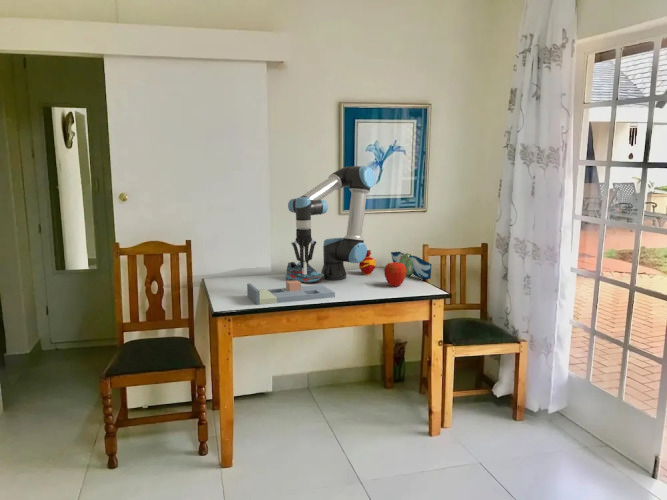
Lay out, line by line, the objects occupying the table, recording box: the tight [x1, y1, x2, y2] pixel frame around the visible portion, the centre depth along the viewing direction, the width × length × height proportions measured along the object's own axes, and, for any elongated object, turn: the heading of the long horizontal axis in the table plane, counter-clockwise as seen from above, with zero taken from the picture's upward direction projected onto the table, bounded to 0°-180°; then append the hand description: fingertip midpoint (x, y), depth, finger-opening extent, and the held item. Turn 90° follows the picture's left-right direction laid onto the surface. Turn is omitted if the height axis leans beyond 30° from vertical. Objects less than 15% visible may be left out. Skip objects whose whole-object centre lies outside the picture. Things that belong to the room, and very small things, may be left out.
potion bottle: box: [358, 249, 377, 276], centre depth 319 cm, size 10×10×15 cm
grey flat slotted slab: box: [246, 282, 336, 306], centre depth 266 cm, size 40×18×6 cm, turn 113°
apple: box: [383, 261, 407, 288], centre depth 290 cm, size 12×12×14 cm
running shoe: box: [285, 261, 325, 284], centre depth 302 cm, size 10×25×12 cm, turn 60°
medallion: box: [390, 251, 432, 281], centre depth 316 cm, size 45×5×14 cm, turn 24°
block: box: [285, 280, 302, 291], centre depth 271 cm, size 6×6×4 cm
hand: (304, 273), depth 273 cm, fingers closed
